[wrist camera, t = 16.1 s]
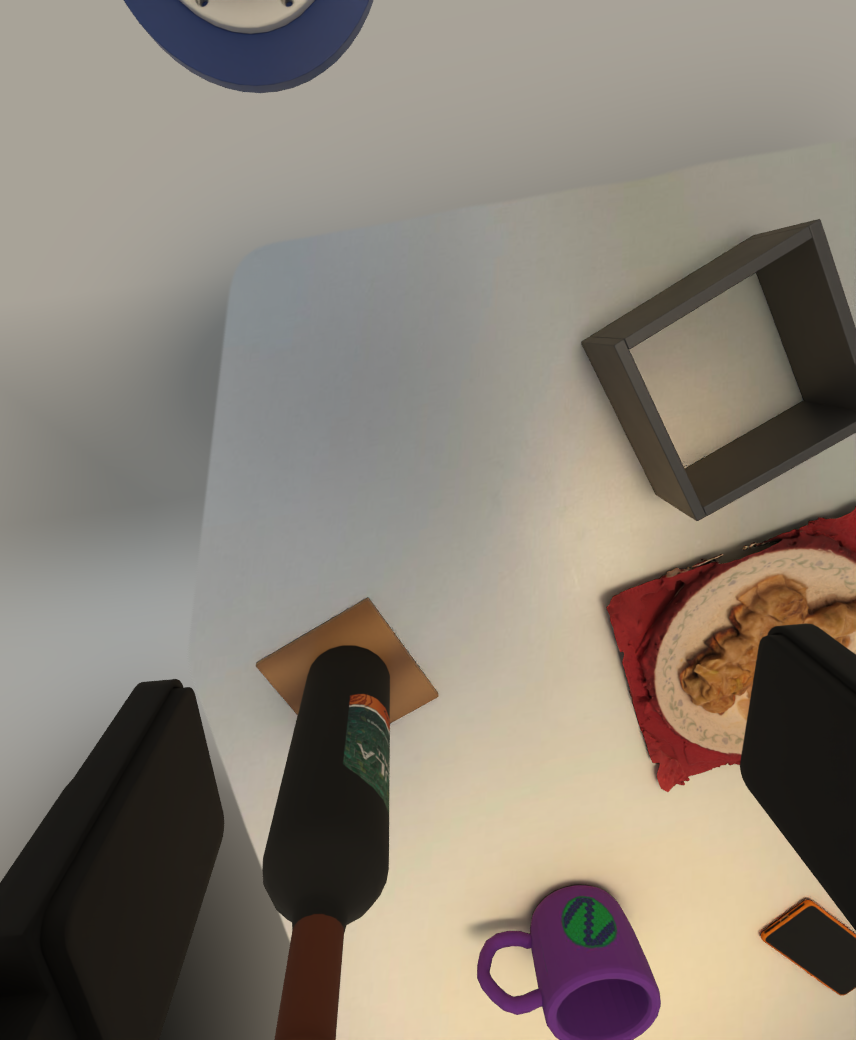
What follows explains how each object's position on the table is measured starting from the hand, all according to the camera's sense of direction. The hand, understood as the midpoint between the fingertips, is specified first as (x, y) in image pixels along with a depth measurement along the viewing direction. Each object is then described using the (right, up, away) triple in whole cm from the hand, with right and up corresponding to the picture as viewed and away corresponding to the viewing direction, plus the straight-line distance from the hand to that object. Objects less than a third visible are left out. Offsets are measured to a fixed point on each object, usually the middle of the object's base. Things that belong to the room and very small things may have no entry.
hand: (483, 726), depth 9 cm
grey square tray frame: (+21, +15, +36) cm, 45 cm away
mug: (+12, -41, +55) cm, 70 cm away
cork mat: (-8, -11, +43) cm, 46 cm away
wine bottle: (-8, -11, +43) cm, 45 cm away
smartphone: (+46, -47, +59) cm, 89 cm away
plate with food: (+31, -9, +45) cm, 55 cm away
